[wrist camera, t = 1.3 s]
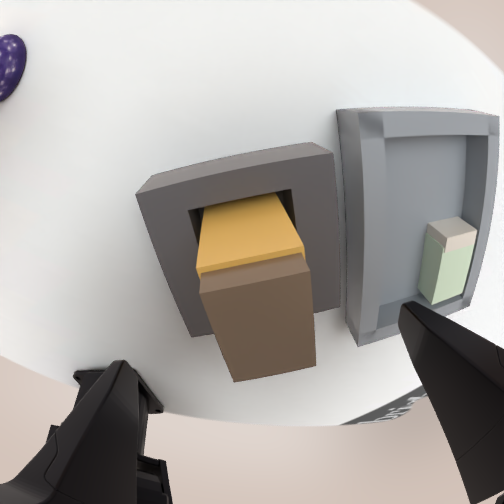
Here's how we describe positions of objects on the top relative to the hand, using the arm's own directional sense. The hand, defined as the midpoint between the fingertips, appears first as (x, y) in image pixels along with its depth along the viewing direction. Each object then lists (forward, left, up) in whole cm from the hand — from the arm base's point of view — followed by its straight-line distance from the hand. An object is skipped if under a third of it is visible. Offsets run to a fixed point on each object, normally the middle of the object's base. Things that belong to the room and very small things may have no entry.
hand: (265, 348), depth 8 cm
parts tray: (-1, -11, -8) cm, 13 cm away
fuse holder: (0, 0, -8) cm, 8 cm away
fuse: (-4, -13, -8) cm, 15 cm away
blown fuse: (0, 0, -7) cm, 7 cm away
